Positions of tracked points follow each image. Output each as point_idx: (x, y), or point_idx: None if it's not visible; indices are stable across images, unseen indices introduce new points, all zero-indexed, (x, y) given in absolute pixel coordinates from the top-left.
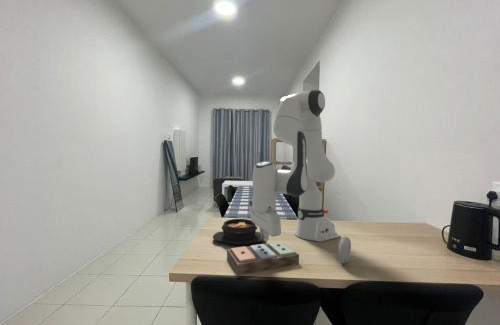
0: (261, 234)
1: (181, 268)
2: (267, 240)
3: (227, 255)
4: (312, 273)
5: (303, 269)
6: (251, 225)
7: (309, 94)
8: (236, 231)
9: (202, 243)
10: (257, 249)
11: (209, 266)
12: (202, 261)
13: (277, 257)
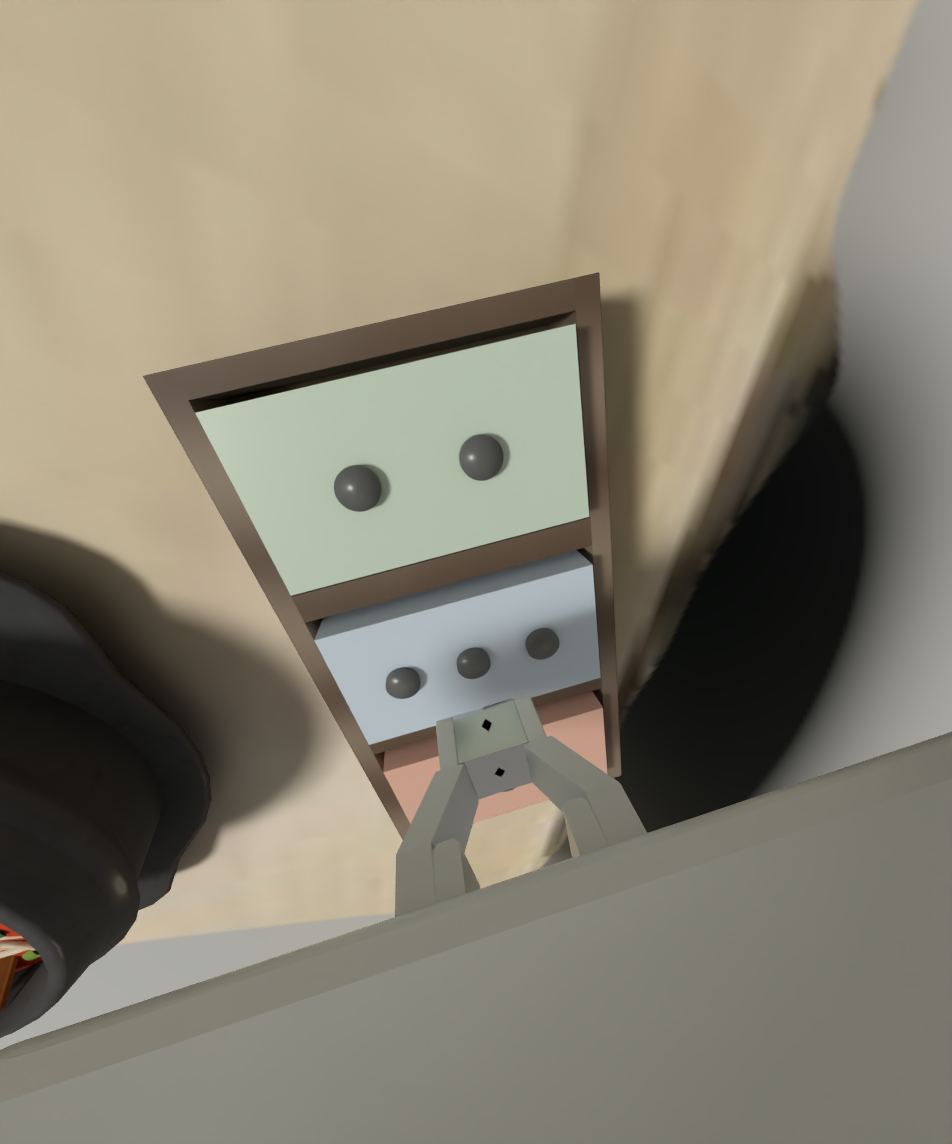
0: (474, 806)
1: None
2: (530, 699)
3: None
4: (744, 237)
5: (659, 299)
6: None
7: None
8: (111, 912)
9: (184, 911)
10: (456, 694)
11: (491, 828)
12: None
13: (599, 545)
